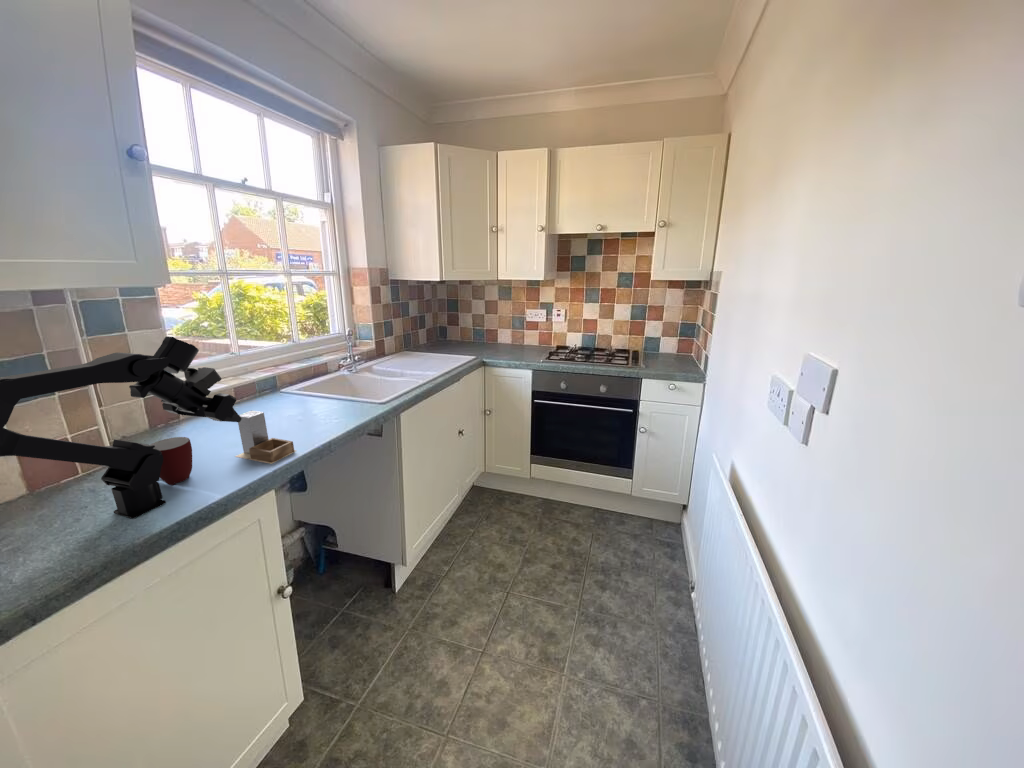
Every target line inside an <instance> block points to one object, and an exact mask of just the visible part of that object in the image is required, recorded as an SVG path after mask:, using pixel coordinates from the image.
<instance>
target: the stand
mask: <svg viewBox="0 0 1024 768" xmlns="http://www.w3.org/2000/svg"><path fill="white" fill-rule="evenodd" d="M268 439H269V440H267V441H264V442H262V443H260V444H258V445H255V446H253V447H251V448H249V451H250V454H247V453H244V452H242V453H240V454H236V455H235V456H234V457H235V458H241V459H245V460H250V461H255V462H260V463H265V464H270V465H272V464H274V463H276V462H278V461H280V460H282V459H284V458H286V457H289V456H290V455H291V454H293V453H296V452H297V450H295V447H294V442H293V441H294V440H287V439H281V438H276V437H271V438H268Z"/></svg>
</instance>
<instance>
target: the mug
mask: <svg viewBox="0 0 1024 768" xmlns="http://www.w3.org/2000/svg"><path fill="white" fill-rule="evenodd" d="M149 445H154V446H155V447H154V448H153V449H157V450H160V451H161V452H162V455H163V464H162V466H161V472H160V479H161V480H162V481H163V482H164V483H165V484H167V485H169V486H177V485H178V484H179V483H182V482H184V481H186V480H187V479H189V478H190V475H191V473H192V471H193V470H192V469H193V448H192V443H191V439H190V438H189V437H185V436H175V437H169V438H165V439H159V440H158V441H155V442H152V443H150V444H149Z"/></svg>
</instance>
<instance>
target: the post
mask: <svg viewBox="0 0 1024 768" xmlns="http://www.w3.org/2000/svg"><path fill="white" fill-rule="evenodd" d="M238 415H239V416H240V417H241V418H242V419H241V421H240V422H237V425H238V430H239V433H240V441H241V445H242V450H243V453H247V454H250V451H249V448H251V447H253V446H255V445H258V444H260V443H262V442H264V441H267V440H269V439H270V438H269V435H268V434H269V433H268V429H267V423H266V417H265V412H264V411H258V410H249V411H246V412H244V413H240V414H238Z"/></svg>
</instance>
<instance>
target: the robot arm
mask: <svg viewBox="0 0 1024 768" xmlns="http://www.w3.org/2000/svg"><path fill="white" fill-rule="evenodd" d="M199 351H200V350H199V348H198V347H197V346H195V345H194V344H192V343H189V342H186V341H184V340H182V339H177V338H176V337H174V336H169V335H167V336H165V337H164V338H163V340H162V343H161V344H160V346H159V347H158V349H157V350H156V352H155V353H154V354H153V355H147V354H141V353H134V352H133V353H132V352H131V353H130V352H113V353H109V354H106V355H103V356H100V357H97V358H94V359H93V360H91V361H89V362H86V363H82V364H81V363H80V364H76V365H68V366H64V367H55V368H51V369H45V370H37V371H32V372H25V373H19V374H11V375H6V376H0V458H1V457H2V458H3V457H23V458H29V459H30V458H31V459H41V460H50V461H57V462H68V463H78V464H85V465H96V466H101V467H104V468H107V469H106V471H105V472H104V473H103V475H102V476H101V479H100V480H101V481H102V482H103V483H104V484H105V485H106V486H113V487H112V488H111V492H112V493H111V494H112V497H113V498H114V503H115V505H116V509H114V510H113V512H112V513H113V514H114V515H117V516H120V517H121V516H122V517H125V518H129V519H131V520H133V519H136V518H138V517H141V516H142V515H144V514H146V513H148V512H151V511H153V510H154V509H157V508H159V507H161V506H163V505H165V504H166V503H167V501H166V500H165V499H163V494H162V490H161V486H160V484H159V481H160V479H161V478H160V472H161V466H162V464H163V455H162V452H161V451H160V450H157V449H153V448H154V447H155V446H154V445H150V444H147V443H141V442H134V441H127V440H120V439H116V438H115V439H113V441H112V442H113V443H112V445H105V446H103V445H97V444H96V445H95V444H89V443H84V442H83V443H82V442H75V441H68V440H62V439H56V438H48V437H43V436H42V437H41V436H34V435H29V434H28V435H27V434H22V433H20V432H17V431H14V430H11V429H8V428H4V427H5V426H6V425H7V424H8V422H9V420H10V419H11V418H10V417H11V416H12V413H13V411H14V409H15V406H16V405H17V403H19V401H20V400H22V399H28V398H32V397H37V396H43V395H48V394H52V393H57V392H63V391H67V390H72V389H78V388H83V387H87V386H88V387H89V386H92V385H98V384H117V383H118V384H121V383H122V384H123V383H125V384H126V383H135V384H131V385H129V389H130V397H131V398H137V399H139V398H140V399H144V398H146V396H148V395H151V396H153V397H156V398H157V399H159V400H160V402H162V408H163V409H162V410H163V411H165V412H168V413H170V414H175V415H181V416H186V417H187V416H190V417H197V418H198V417H199V418H200V417H201V418H206V419H207V418H208V419H209V420H212V421H217V422H229V423H230V422H231V423H238V422H240V421H241V419H242V418H241V417H240V416H239V415H240V414H238V412H237V411H236V410H235V408H234V405H235V404H236V402H237V398H236V397H235V396H233V395H232V394H228V393H216V394H213V396H212V397H208V396H209V395H210V394H211V392H212V391H211V390H210V389H211V388H213V386H215V385H216V384H217V383H219V382H221V381H222V377H221V376H220V374H219V372H217V370H216V369H215V368H212V367H197V369H196V368H194V367H190V366H191V363H193V361H194V359H195V357H196V356H197V354H198V353H199ZM180 372H182V373H183V374H184V378H185V380H184V379H181V378H179V377H178V376H176V375H174V374H178V373H180Z"/></svg>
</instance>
